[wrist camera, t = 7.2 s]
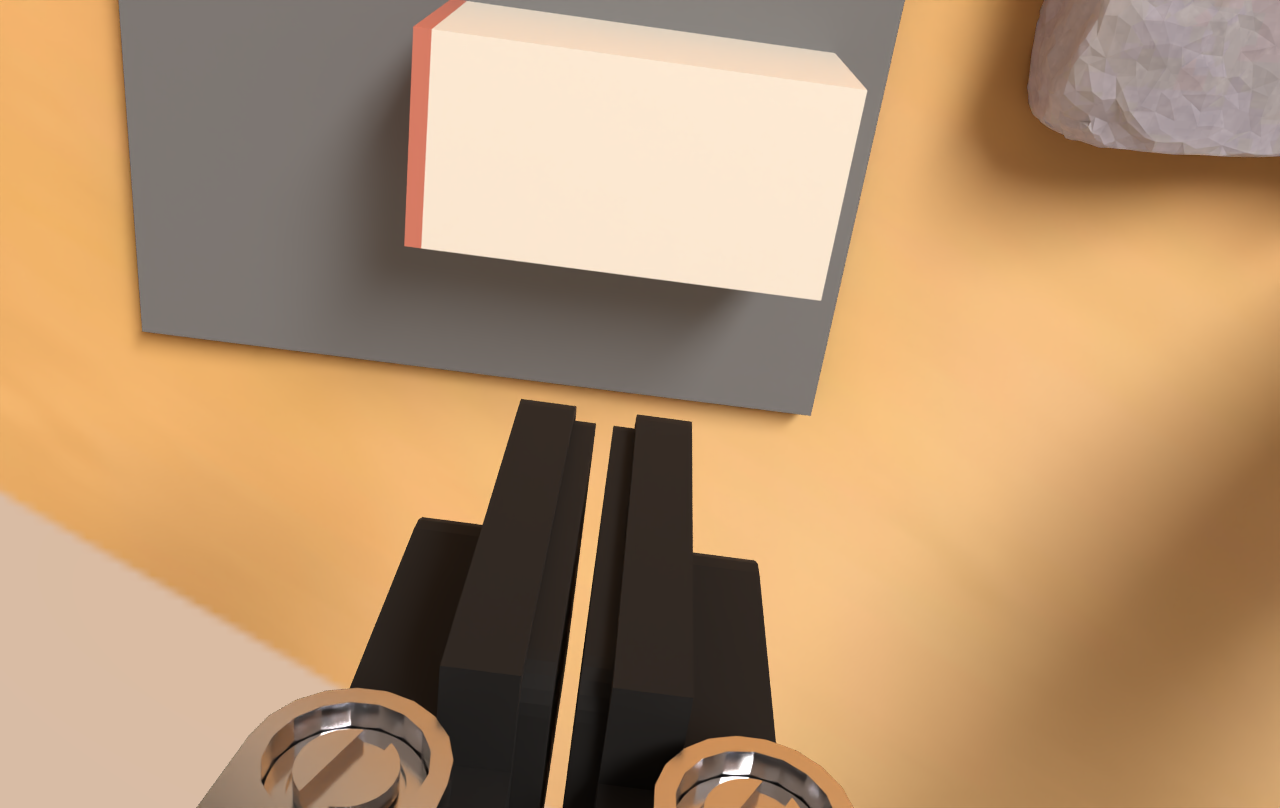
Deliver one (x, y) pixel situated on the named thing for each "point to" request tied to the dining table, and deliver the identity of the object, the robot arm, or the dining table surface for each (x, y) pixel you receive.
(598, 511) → the dining table surface
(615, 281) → the charcoal mat
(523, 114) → the cream block
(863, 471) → the dining table surface
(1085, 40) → the stone block
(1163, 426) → the dining table surface
